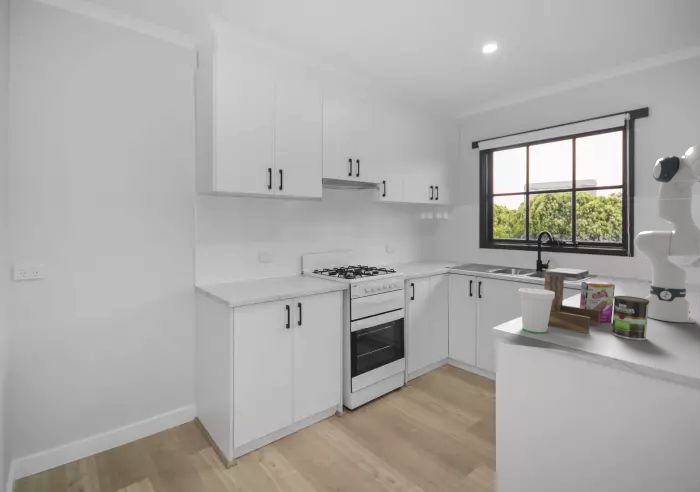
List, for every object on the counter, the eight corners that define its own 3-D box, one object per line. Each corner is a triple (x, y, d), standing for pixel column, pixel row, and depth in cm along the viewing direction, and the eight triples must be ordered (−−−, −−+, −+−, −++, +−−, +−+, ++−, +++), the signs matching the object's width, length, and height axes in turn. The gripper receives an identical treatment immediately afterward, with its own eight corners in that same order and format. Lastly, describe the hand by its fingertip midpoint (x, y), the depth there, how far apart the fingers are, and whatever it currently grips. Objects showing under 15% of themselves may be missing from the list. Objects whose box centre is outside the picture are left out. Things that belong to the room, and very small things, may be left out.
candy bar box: (584, 321, 154) (587, 283, 153) (578, 318, 159) (580, 281, 158) (612, 322, 152) (615, 284, 151) (605, 319, 157) (608, 282, 156)
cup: (548, 327, 143) (551, 289, 142) (556, 336, 132) (558, 295, 131) (514, 324, 147) (516, 287, 146) (518, 333, 135) (520, 292, 134)
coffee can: (635, 341, 128) (638, 302, 127) (605, 333, 137) (607, 296, 136) (652, 338, 132) (655, 300, 131) (622, 330, 141) (624, 294, 140)
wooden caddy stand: (557, 317, 160) (559, 267, 159) (599, 325, 149) (602, 271, 147) (542, 324, 148) (545, 270, 146) (587, 333, 136) (591, 275, 135)
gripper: (732, 230, 121) (690, 257, 129) (727, 228, 108) (681, 258, 116) (751, 244, 118) (707, 271, 126) (749, 243, 105) (700, 274, 112)
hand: (695, 265), depth 120 cm, fingers open, 8 cm apart
